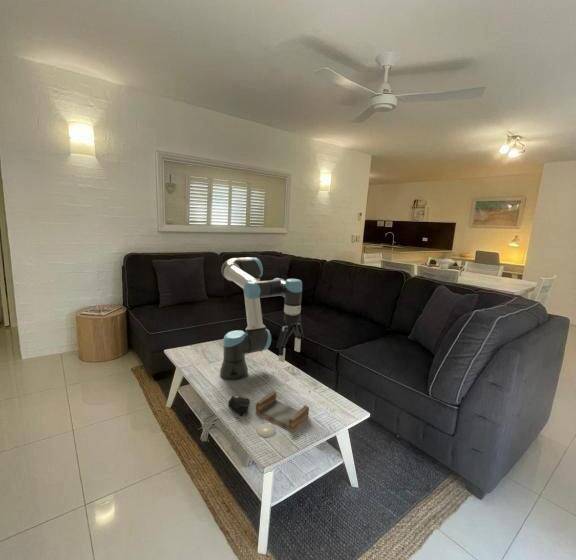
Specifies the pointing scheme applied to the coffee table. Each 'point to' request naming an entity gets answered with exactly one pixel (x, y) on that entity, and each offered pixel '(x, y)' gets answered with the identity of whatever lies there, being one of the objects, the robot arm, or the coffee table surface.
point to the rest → (281, 412)
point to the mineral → (239, 404)
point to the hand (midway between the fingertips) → (289, 356)
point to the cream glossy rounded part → (266, 430)
